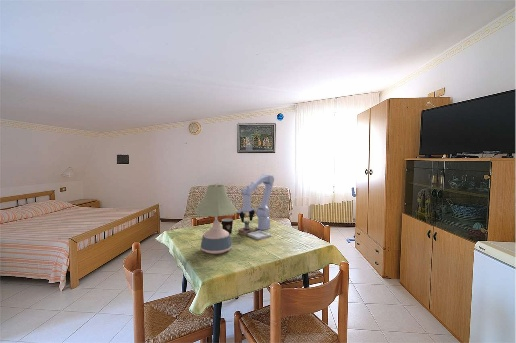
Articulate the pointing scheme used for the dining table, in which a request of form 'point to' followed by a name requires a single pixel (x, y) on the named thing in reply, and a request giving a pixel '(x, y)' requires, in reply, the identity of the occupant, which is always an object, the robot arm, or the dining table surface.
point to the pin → (246, 225)
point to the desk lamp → (216, 219)
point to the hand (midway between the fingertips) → (246, 221)
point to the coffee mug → (227, 225)
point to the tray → (259, 235)
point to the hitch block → (244, 232)
